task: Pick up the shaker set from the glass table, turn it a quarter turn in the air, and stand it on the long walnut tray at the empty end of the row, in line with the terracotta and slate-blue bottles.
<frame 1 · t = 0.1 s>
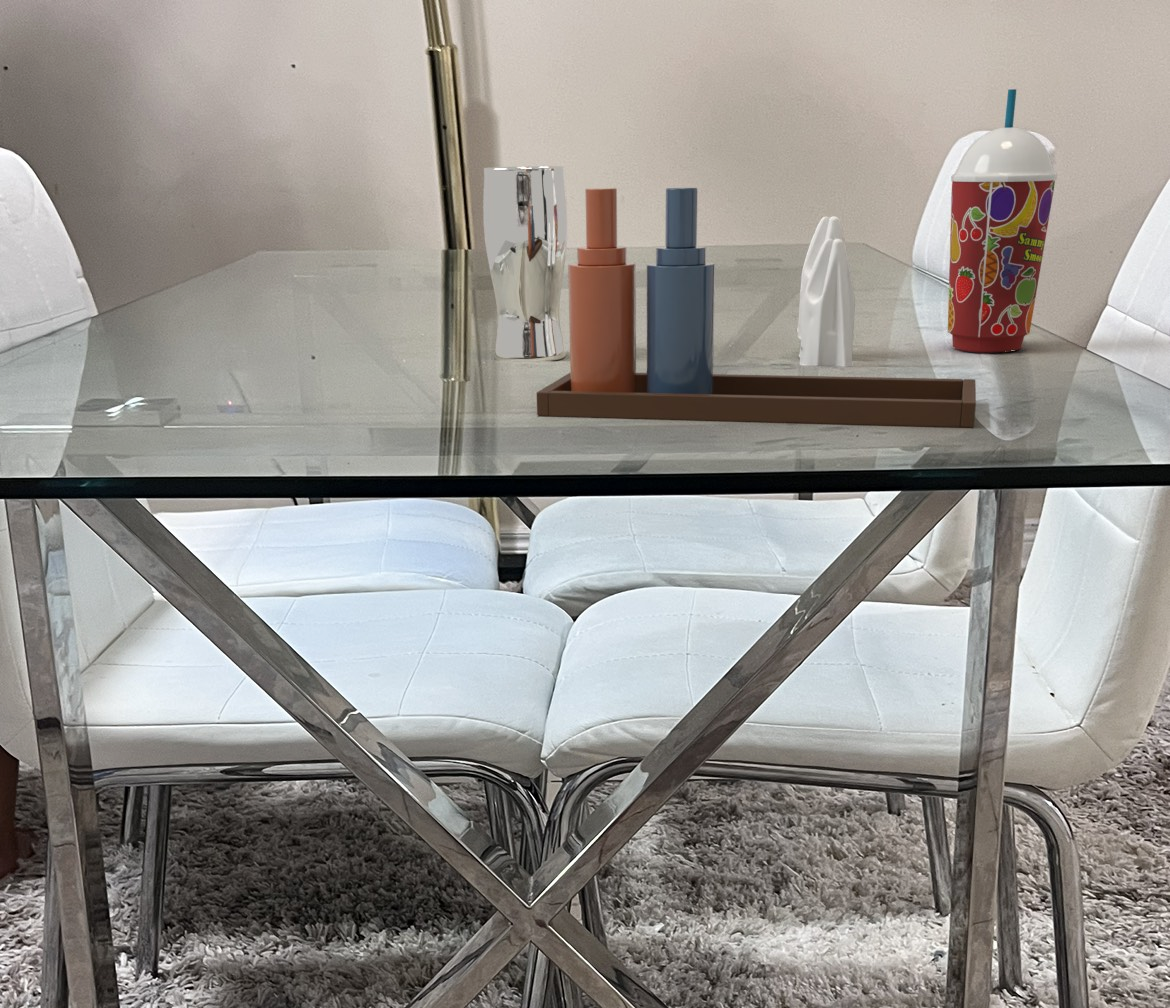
tray: (756, 418, 92), on the table
beer glass: (530, 360, 120), on the table
slate-blue bottle: (679, 407, 93), point 1 cm above the table, touching tray
terracotta bottle: (603, 405, 95), point 1 cm above the table, touching tray
shaker set: (823, 365, 115), on the table
smoothie: (986, 351, 120), on the table
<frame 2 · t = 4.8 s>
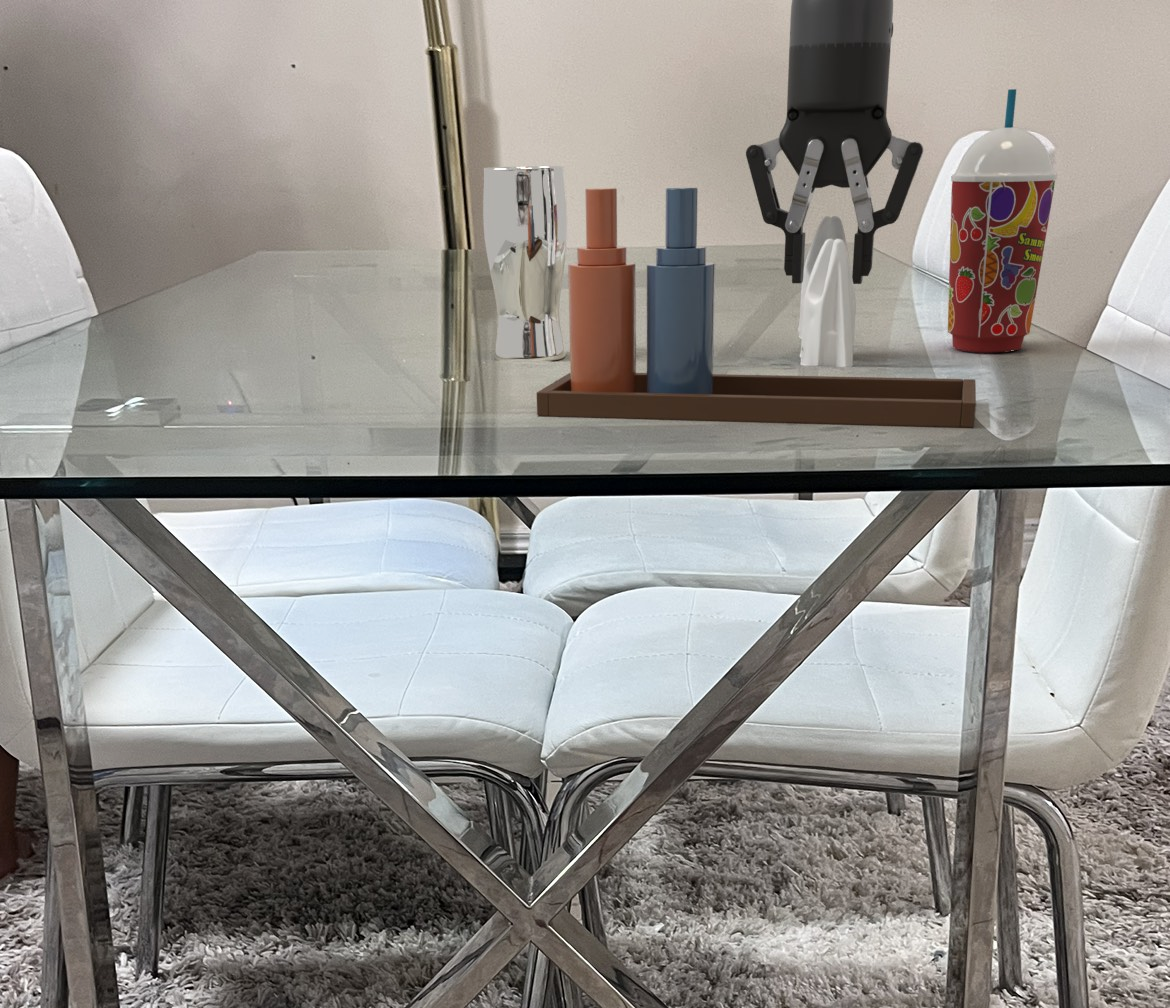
hand: (827, 281, 112), 6 cm above the table, tool pointing down, fingers closed on shaker set, 4 cm apart
shaker set: (824, 365, 115), on the table, touching gripper
everything else where it was.
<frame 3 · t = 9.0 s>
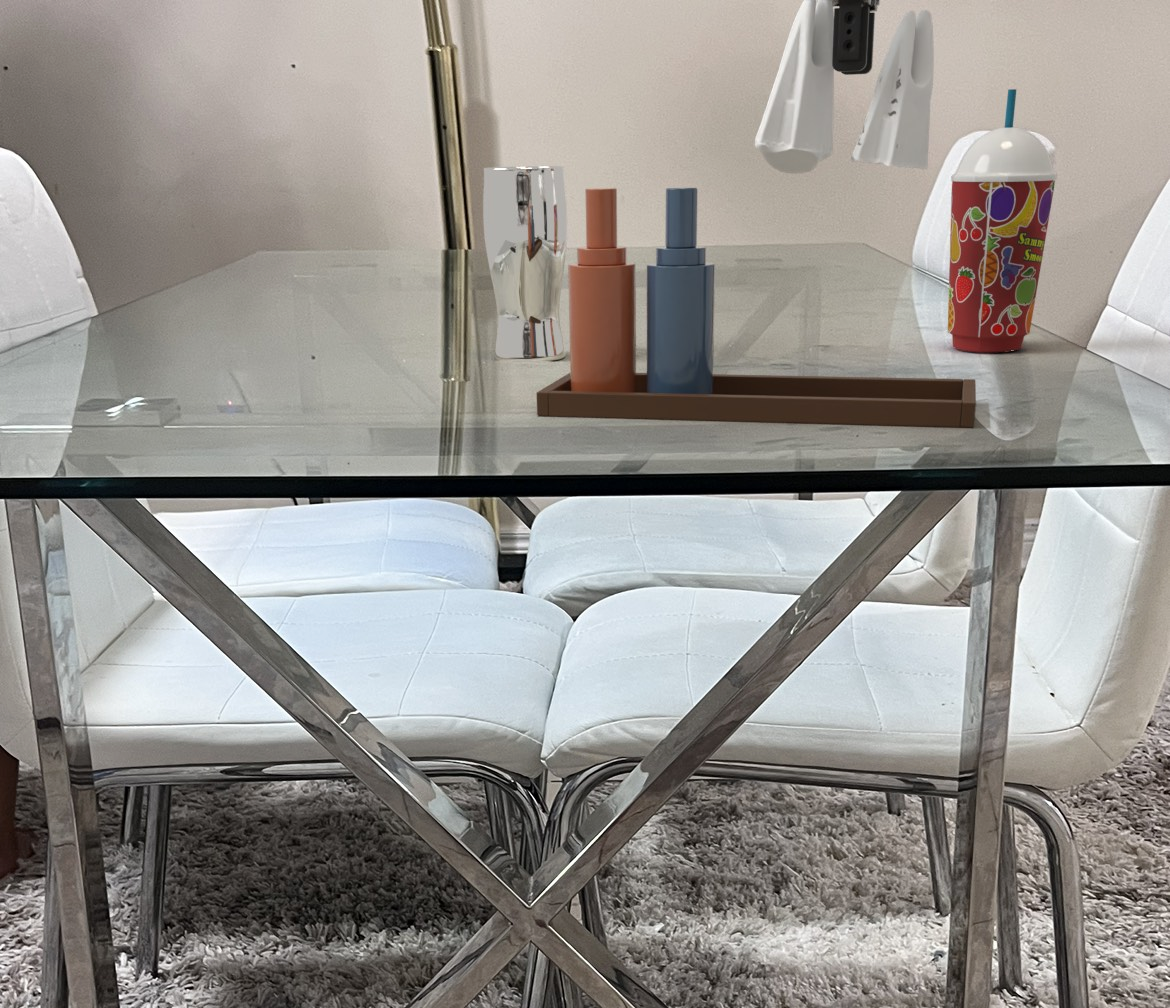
hand: (852, 71, 95), 21 cm above the table, tool pointing down, fingers closed on shaker set, 4 cm apart
shaker set: (840, 175, 98), point 14 cm above the table, touching gripper
everything else where it was.
when the fingers open (7 cm above the table, at t = 13.7 s): shaker set stays where it is, resting on tray.
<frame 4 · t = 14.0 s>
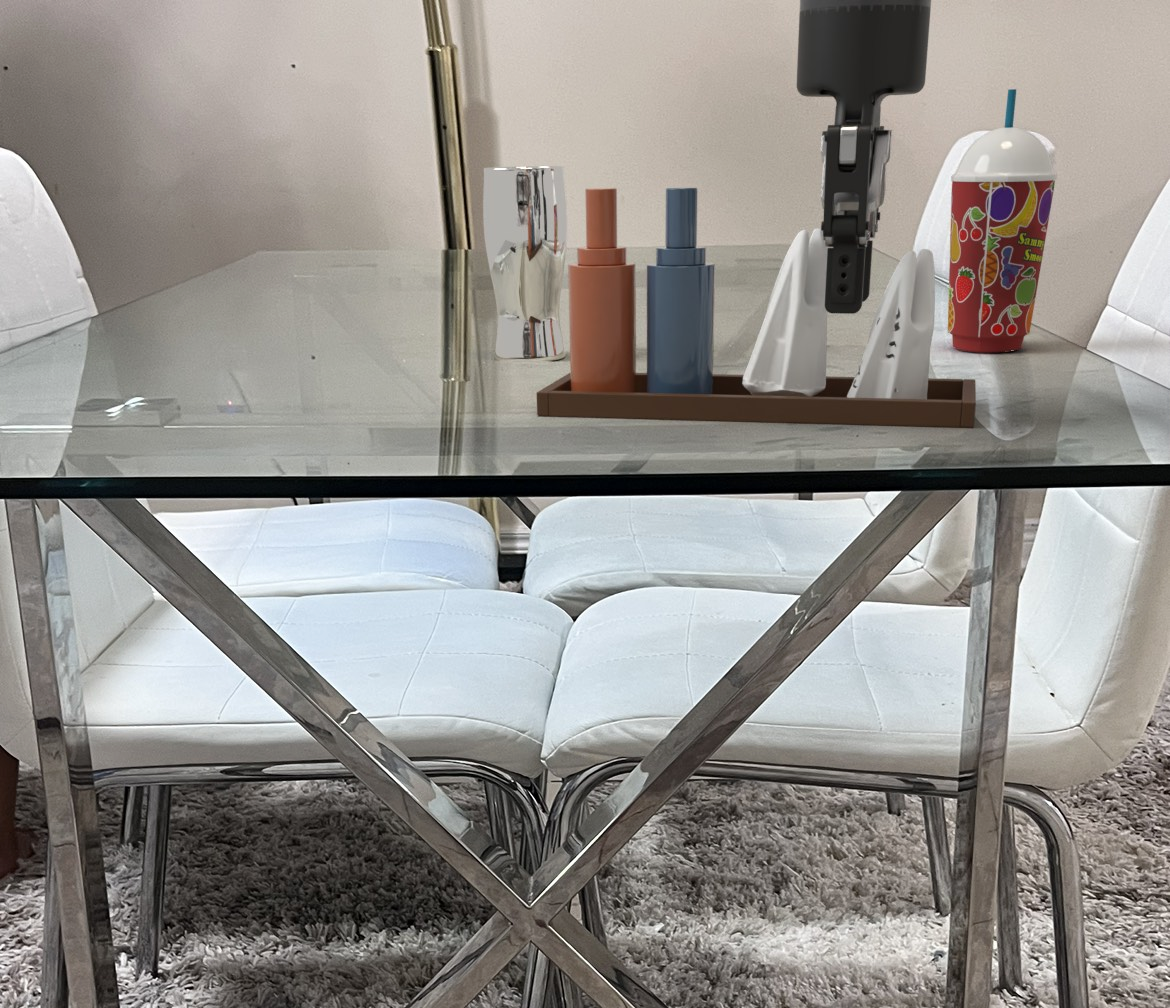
hand: (847, 305, 88), 7 cm above the table, tool pointing down, fingers open, 6 cm apart
shaker set: (834, 413, 91), resting on tray
everything else where it was.
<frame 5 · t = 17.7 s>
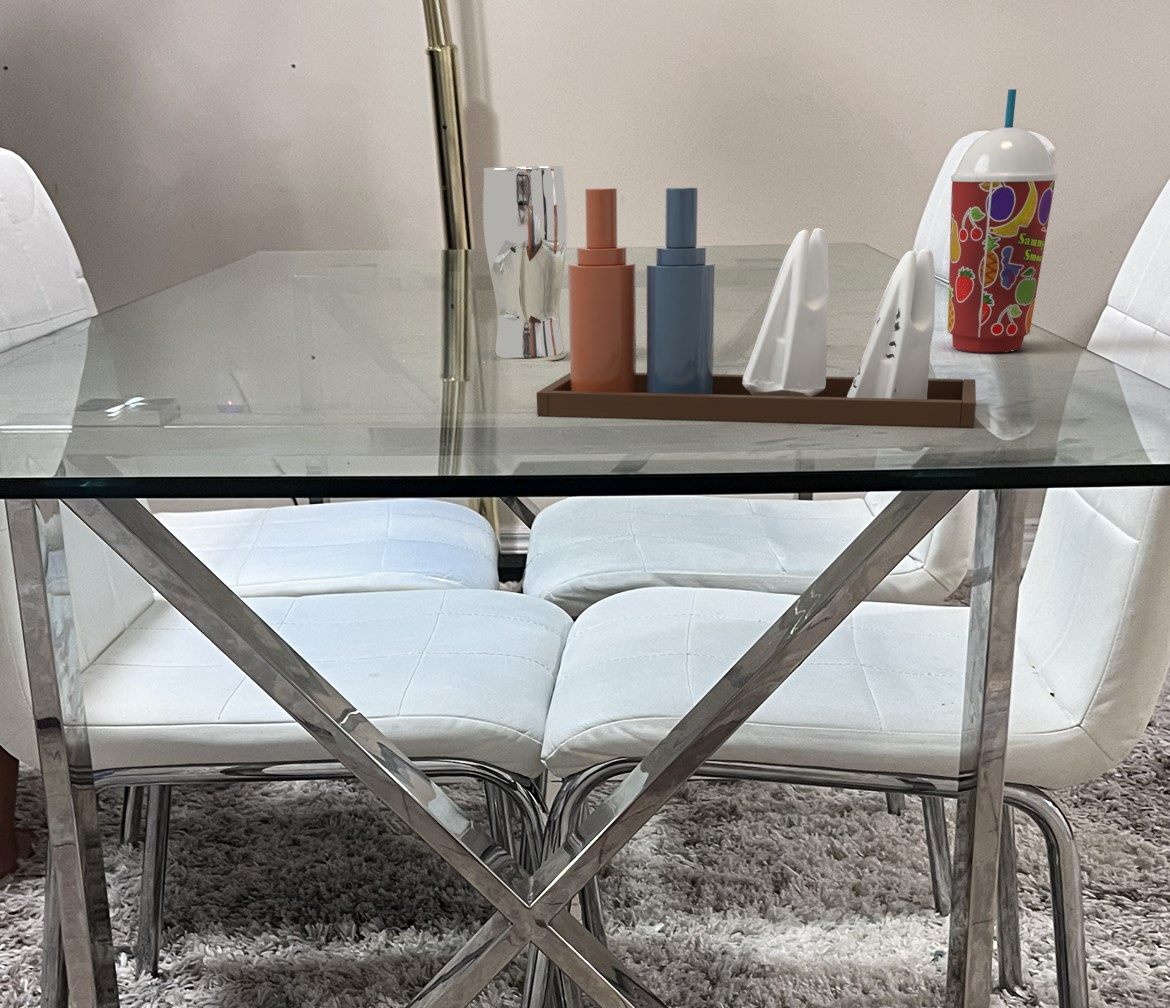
nothing on the table moved.
at the end: shaker set 0.5 cm from the target spot in the tray, point 0.4 cm above the tray's base; shaker set tilted 0°; the gripper is holding nothing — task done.
